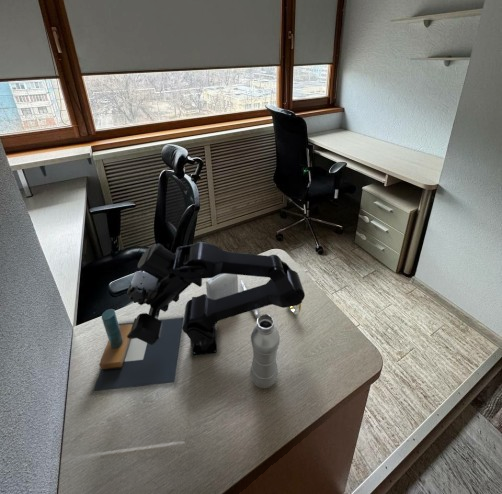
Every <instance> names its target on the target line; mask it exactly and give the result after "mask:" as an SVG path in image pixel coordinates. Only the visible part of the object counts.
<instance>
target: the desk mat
mask: <svg viewBox="0 0 502 494" xmlns="http://www.w3.org/2000/svg"><path fill="white" fill-rule="evenodd" d="M159 320H160V321H162V330H161V334H160V339H159V340H158V341H157V342H156V343H155V344H153V345H150V344H148V343H146V342H144V341H142V340H140V339H138V338H134V339H131V342H130V345H129V348H128V351H127V355H126V358H125V361H124V364H123V367H122V369H119V370H110V371H103V369H101V368H100V371H99V374H98V376H97V379H96V382H95V385H94V387H93V390H92V392H99V391H108V390H118V389H126V388H133V387H142V386H143V387H144V386H151V385H152V386H153V385H160V384H161V385H162V384H168V383H175V381H176V374H177V366H178V360H179V354H180V353H179V351H180V345H181V338H182V331H183V329H182V327H183V320H184V317H175V318H167V319H166V318H165V319H159ZM118 324H119V325H129V324H133V322H124V323H123V322H122V323H118Z"/></svg>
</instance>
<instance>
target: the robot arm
mask: <svg viewBox="0 0 502 494" xmlns="http://www.w3.org/2000/svg"><path fill="white" fill-rule="evenodd" d="M186 256H187V260H186V262H185V257H186ZM137 268H138V269H140V271H139V270H137V271H135V272H134V273H133V275H132V278H131V281H130V283H129V285H128V288H127V291H126V295H127V296H128V300H129V301H130V302H134V303H137V304H138V305H139V306H142V305H145V304H146V305H147V306H149V310H148V313H147V312H143V313H142V312H141V313H139V314H138V315H137V317H135V318H134V319H133V321H132V323H133V326H132V330H131V331H130V333H129V334H128V335H127V338H129V339H134V338H138V339H140V340H142V341H144V342H146V343H148V344H150V345H153V344H155V343H156V342H157V341H158V340H159V339H160V334H161V330H162V321H160V320H161V319H159V316H160V312H161V311H162V312H164V313H165V312H166V313H167V311H169V306H170V304H171V303H172V302H175V303H177V302H178V301H179V300H180V295H181V294H182V293H183V292H184V291H185V290H186V289H188V287H190V286H191V285H192V284H194V285H195V286H198V287H199V288H200V287H202V286H203V279H210V278H213V277H215V276H217V275H219V274H236V275H237V276H246V277H248V276H249V277H260V278H269V280H268V281H267V282H266V283H264V284H261V285H258V286H255V287H251V288H247V290H245V291H244V290H241V291H238V293H235V294H232V295H229V296H226V297H222V298H219V299H216V300H214V299H211V298H207V293H202V294H201V295H199V296H192V297H191V299H189V300H188V301H187V302H186V304H185V306H184V314H183V325H182V331H183V333H184V334H186V336H187V337H188V338H189V341H190V347H191V348H192V356H195V357H196V356H204V355H213V354H214V355H215V354H217V353H218V329H217V324H218V323H219V322H220V321H223V320H226V319H229V318H232V317H236V316H240V315H242V314H246V313H249V312H253V311H252V310H255V309H257V310H258V309H262V308H265V307H268V306H275V307H279V308H283V309H285V308H289V307H291V306H293V307H296V305H299V304H300V303H301V304H302V303H303V300H304V299H305V298H306V297H305V296H306V294H305V291H304V287H303V284H302V282H301V277H300V276H299V274H298V273H299V272H297V271H296V270H293V269H292V268H291V267H290V266H289V265H288V264H287V262H285V261H283V260H282V259H281V258H280V256H279V255H277V254H270V255H263V254H254V253H244V252H234V251H227V250H223V249H221V248H220V247H219V246H217V245H216V244H212V243H208V242H205V241H198V242H195V243H193V244H188V245H183V246H178V247H176V250H175V252H174V253H173V251H170V250H169V249H167V248H165V247H164V245H163V244H161V243H156V245H155V244H153V245H150V246H149V247H148V248H147V249H146V250H145V251H144V252H143V254H142V256H141V257H140V258H139V260H138V263H137Z"/></svg>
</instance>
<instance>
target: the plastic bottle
mask: <svg viewBox="0 0 502 494" xmlns="http://www.w3.org/2000/svg"><path fill="white" fill-rule="evenodd" d="M280 340H281V336H280V333H279V330H278V329H277V327H276V326H275V320H274V318H273V316H272V315H270V314H267V313H263V314H260V315H258V317H257V319H256V325H255V326H254V328H253V329H252V332H251V334H250V342H251V346H252V361H251V365H250V377H251V380H252V382H253V383H254V385H255V386H257V387H258V388H261V389H267V388H271V387H272V386H273V385H274V384H275V383H276V381H277V377H278V374H279V369H278V363H277V353H278V349H279V345H280V342H281V341H280Z"/></svg>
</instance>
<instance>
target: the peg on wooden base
mask: <svg viewBox="0 0 502 494" xmlns="http://www.w3.org/2000/svg"><path fill="white" fill-rule="evenodd" d="M101 320H102V323H103V326H104V330H105V332H106V336H107V340H108V341H107V344H106V346H105V349H104V351H103V354H102V357H101V358H100V362H99V364H98V365H99V368H100V370H101V369H103V371H110V370H119V369H122V367H123V364H124V361H125V358H126V355H127V351H128V348H129V345H130V342H131V339H129V338H127V335H128V334H129V333H130V331H131V330H132V326H133V324H129V325H119V324H120V323H119V321H118V316H117V314H116V311H115V309H113V308H108V309H106V310H105V311H104V312H103V313H102V314H101Z"/></svg>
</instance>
